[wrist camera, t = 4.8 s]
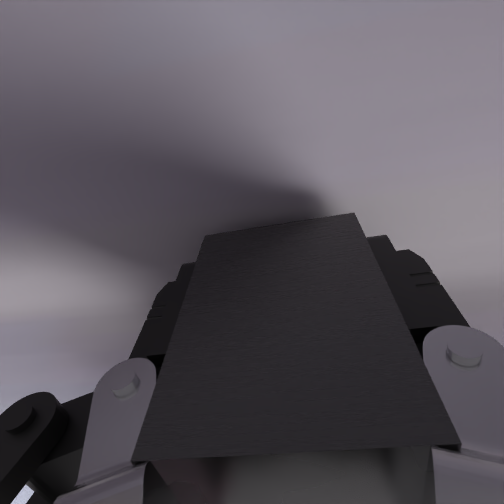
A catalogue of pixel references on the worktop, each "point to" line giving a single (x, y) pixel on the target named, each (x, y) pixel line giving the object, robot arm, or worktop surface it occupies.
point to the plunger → (292, 377)
